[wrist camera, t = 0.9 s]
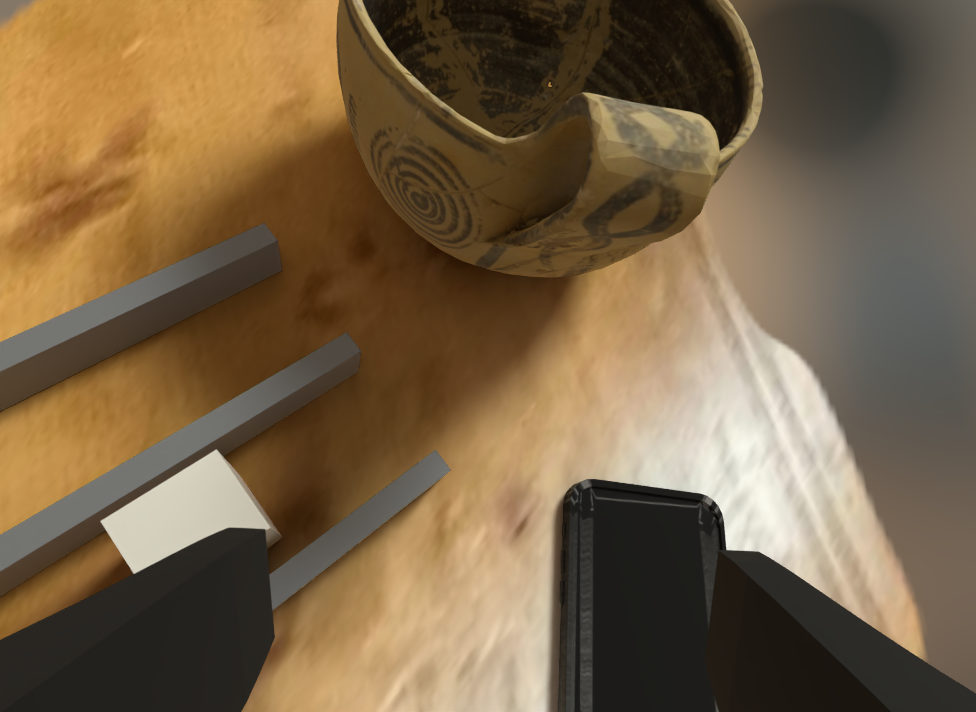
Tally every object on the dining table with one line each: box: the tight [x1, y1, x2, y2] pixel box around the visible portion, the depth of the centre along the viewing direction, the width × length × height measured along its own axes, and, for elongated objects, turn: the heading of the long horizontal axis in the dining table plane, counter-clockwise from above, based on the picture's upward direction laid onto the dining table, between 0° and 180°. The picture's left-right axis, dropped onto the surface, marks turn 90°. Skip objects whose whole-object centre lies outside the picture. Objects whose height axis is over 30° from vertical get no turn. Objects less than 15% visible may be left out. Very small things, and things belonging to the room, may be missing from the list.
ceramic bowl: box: [336, 0, 763, 278], centre depth 23 cm, size 22×17×15 cm
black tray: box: [558, 479, 726, 712], centre depth 23 cm, size 8×1×15 cm
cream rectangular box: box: [100, 449, 283, 574], centre depth 18 cm, size 4×3×5 cm
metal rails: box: [0, 223, 451, 611], centre depth 19 cm, size 18×14×3 cm
